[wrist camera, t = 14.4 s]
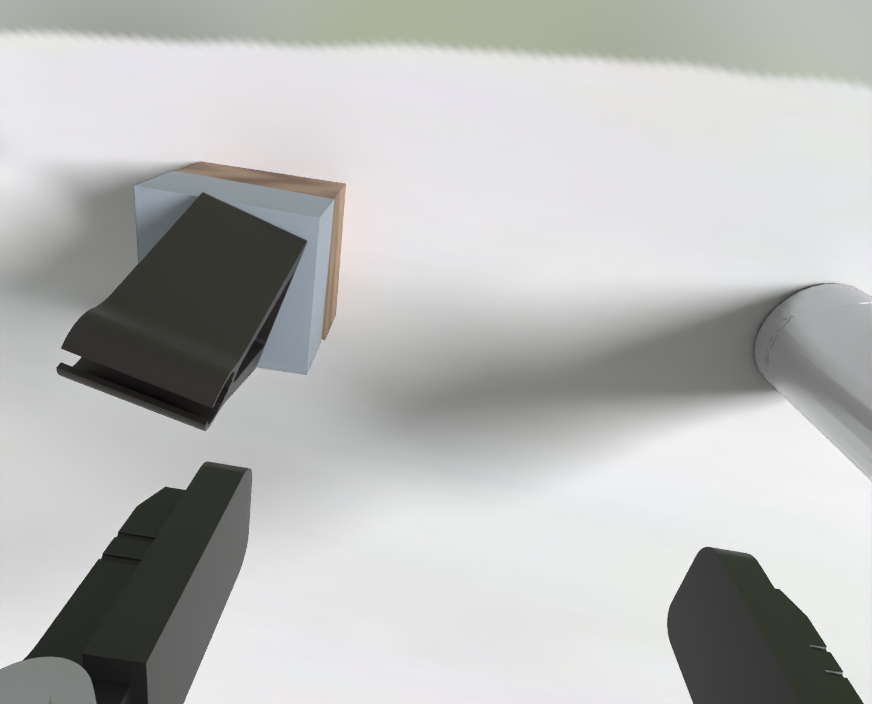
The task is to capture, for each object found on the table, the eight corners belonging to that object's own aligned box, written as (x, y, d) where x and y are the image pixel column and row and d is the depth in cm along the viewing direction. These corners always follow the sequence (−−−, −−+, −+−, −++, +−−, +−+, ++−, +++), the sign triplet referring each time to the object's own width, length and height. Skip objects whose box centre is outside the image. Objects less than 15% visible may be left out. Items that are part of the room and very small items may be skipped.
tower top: (334, 198, 36) (319, 217, 32) (321, 340, 41) (306, 374, 36) (172, 170, 35) (134, 185, 31) (176, 317, 40) (143, 349, 35)
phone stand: (205, 189, 31) (82, 256, 20) (309, 239, 32) (245, 326, 22) (161, 326, 35) (37, 443, 24) (256, 366, 36) (178, 495, 25)
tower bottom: (346, 182, 41) (334, 197, 36) (336, 312, 45) (325, 339, 41) (203, 160, 40) (172, 172, 36) (206, 294, 44) (180, 320, 40)
